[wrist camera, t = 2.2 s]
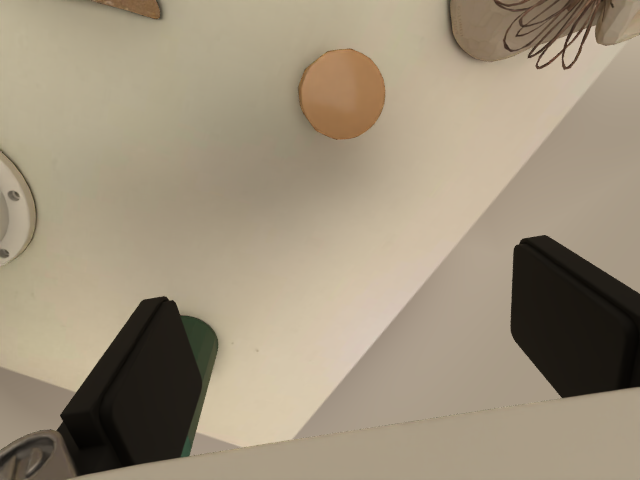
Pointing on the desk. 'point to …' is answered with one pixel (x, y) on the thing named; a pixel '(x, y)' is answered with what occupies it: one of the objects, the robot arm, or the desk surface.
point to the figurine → (538, 25)
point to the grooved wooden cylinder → (342, 94)
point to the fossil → (135, 6)
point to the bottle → (200, 366)
